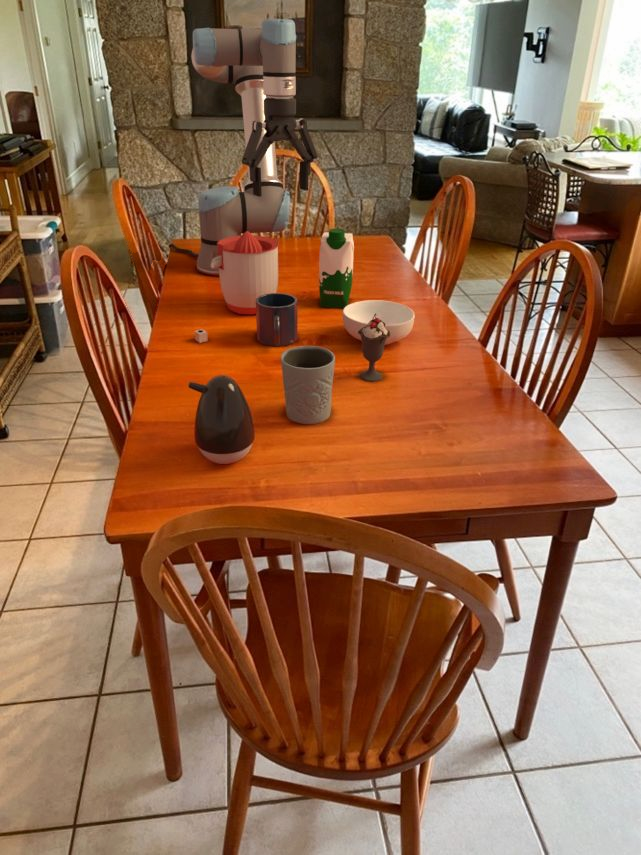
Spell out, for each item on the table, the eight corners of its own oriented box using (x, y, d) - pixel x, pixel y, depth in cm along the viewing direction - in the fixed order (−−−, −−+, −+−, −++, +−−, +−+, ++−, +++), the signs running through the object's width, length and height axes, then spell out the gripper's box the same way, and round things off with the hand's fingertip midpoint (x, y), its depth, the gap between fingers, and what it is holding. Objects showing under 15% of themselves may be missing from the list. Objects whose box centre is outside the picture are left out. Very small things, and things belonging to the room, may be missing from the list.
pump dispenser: (197, 440, 119) (190, 364, 111) (255, 438, 120) (252, 362, 112) (192, 473, 111) (184, 392, 103) (255, 471, 111) (252, 391, 104)
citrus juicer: (209, 301, 179) (203, 225, 169) (271, 294, 184) (269, 221, 173) (220, 322, 166) (214, 242, 156) (286, 315, 171) (285, 237, 161)
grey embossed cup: (315, 431, 122) (316, 373, 116) (270, 416, 127) (269, 359, 121) (343, 409, 130) (345, 353, 124) (300, 395, 134) (300, 340, 128)
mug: (257, 330, 163) (256, 292, 158) (296, 329, 163) (296, 292, 158) (256, 353, 151) (254, 313, 146) (298, 352, 152) (298, 313, 147)
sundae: (366, 385, 138) (370, 318, 131) (350, 372, 143) (353, 307, 136) (392, 379, 141) (398, 313, 133) (376, 367, 146) (380, 302, 138)
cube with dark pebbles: (195, 340, 157) (194, 330, 156) (203, 338, 158) (202, 328, 157) (199, 343, 155) (199, 333, 154) (207, 340, 157) (207, 330, 155)
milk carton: (317, 308, 176) (318, 232, 165) (320, 296, 183) (321, 223, 173) (350, 310, 175) (353, 233, 165) (352, 298, 183) (355, 224, 172)
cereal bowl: (426, 339, 159) (429, 311, 156) (383, 360, 149) (385, 331, 145) (371, 320, 169) (373, 293, 165) (327, 339, 159) (327, 311, 155)
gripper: (240, 100, 145) (244, 201, 156) (332, 96, 157) (330, 189, 168) (224, 97, 150) (229, 195, 161) (314, 94, 162) (313, 184, 173)
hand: (281, 192), depth 164 cm, fingers open, 13 cm apart
